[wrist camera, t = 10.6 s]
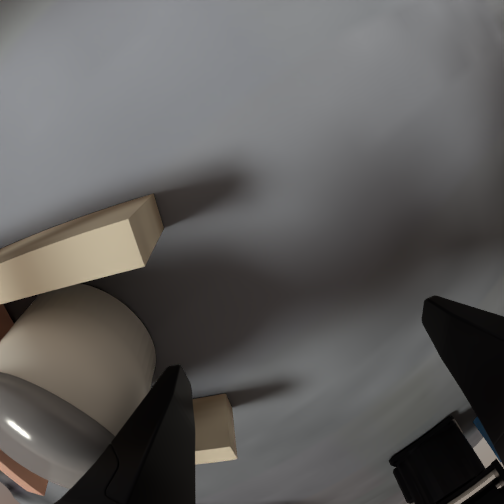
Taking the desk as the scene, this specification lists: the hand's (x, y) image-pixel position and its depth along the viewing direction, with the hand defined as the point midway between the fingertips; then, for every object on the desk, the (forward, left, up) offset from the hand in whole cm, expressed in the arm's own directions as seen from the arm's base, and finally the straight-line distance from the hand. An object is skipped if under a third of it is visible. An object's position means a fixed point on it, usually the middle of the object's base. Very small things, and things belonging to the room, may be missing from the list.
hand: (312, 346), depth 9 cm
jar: (+8, -4, -3) cm, 9 cm away
